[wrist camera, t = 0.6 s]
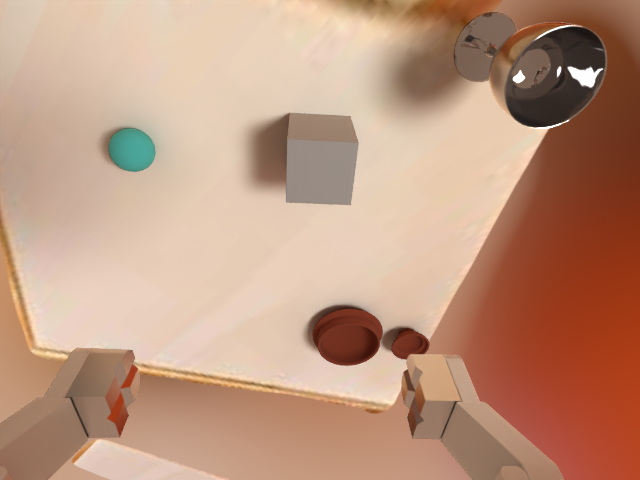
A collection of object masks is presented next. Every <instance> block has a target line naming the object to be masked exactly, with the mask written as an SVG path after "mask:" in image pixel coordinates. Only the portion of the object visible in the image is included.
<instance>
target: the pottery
mask: <svg viewBox="0 0 640 480" xmlns="http://www.w3.org/2000/svg"><path fill="white" fill-rule="evenodd" d="M382 334H383V330H382V326H381V323H380V322H379V320H378V319H377V318H376V317H375V316H373V315H372V314H370V313H368V312H365V311H362V310H358V309H343V310H338V311H334V312H332V313H329V314H328V315H326V316H324V317H323V318H322V319H320V320H319V321H318V323H317V324H316V326H315V327H314V330H313V340H314V343H315V345H316V346H317V347H318V350H319V352H320V354H321V356H322V357H323V358H324V359H326V360H327V361H329V362H331V363H334V364H337V365H344V366H349V365H356V364H360V363H363V362H365V361H367V360H369V359H370V358H372V357H373V356H374V355H375V354H376V353H377V351H378V349H379V346H380V340H381V338H382ZM428 348H429V341H428V339H427V338H426V337H425V336H424V335H422V334H420V333H418V332H415V331H414V330H413V329H404V330H402V331H400V333H399V335H398V336H397V338H396V339H395V340H394V342H393V344H392V352H393V354H394V355H395V356H396V357H398V358H401V359H407V358H408V356H409V355H410V354H425V353H426V352H427V350H428Z"/></svg>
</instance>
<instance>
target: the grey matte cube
mask: <svg viewBox="0 0 640 480" xmlns="http://www.w3.org/2000/svg"><path fill="white" fill-rule="evenodd" d="M357 151H358V140H357V136H356V133H355V130H354V127H353V123H352V120H351V117H350V116H336V115H318V114H300V113H290V116H289V126H288V137H287V175H286V202H289V203H313V204H337V205H351V199H352V191H353V183H354V175H355V167H356V159H357Z"/></svg>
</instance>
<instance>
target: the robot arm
mask: <svg viewBox="0 0 640 480" xmlns="http://www.w3.org/2000/svg"><path fill="white" fill-rule="evenodd" d="M134 359H135V356H134V353H133V350H121V349H98V348H76V349H75V350H73V351H72V352H71V353H70V355H69V356H68V358H67V360H66V361H65V363H64V365H63V366H62V368H61V369H60V371H59V373H58V374H57V376H56V378H55V379H54V381H53V382H52V384H51V386H50V388H49V389H48V391H47V392H46V394H45V395H44V397H42V398H41V397H39V398H36V399H35V400H33V401H32V402H31V403H29V404H28V405H26V406H25V407H23V408H22V409H20V410H19V411H17V412H16V413H15V414H13V415H12V416H10V417H9V418H7V419H6V420H4V421H3V422H2V423H0V480H48V479H49V478H50V477H51V476H52V475H53V474H54V473H55V472H56V471H57V470H58V469H59V468H60V467H61V466H62V465H63V464H64V463H65V462H66V461H67V460H68V459H69V458H71V457H72V456H73V455H74V453H76V452H77V451H78V449H80V448H81V447H82V446H83V445H84V444H85V443H86V442H87V441H88V438H107V437H108V438H110V437H111V438H112V437H120V436H121V433H122V431H123V428H124V426H125V423H126V421H127V418H128V416H129V415H128V411H127V407H128V406H129V405H130V404H131V403H133V402H134V400H135V398H136V395H137V393H138V388H139V382H140V380H139V379H140V378H139V371H138V368H137V367H136V366H134V365H133V362H134ZM406 364H407V368H408V369H407V370H406V371H404V372H403V377H402V396H403V401H404V404H405V405H406V406H407V407H408V408H409V409H410V410H409V413H408V417H407V418H408V422H409V427H410V431H411V435H412V438H413V439H441V442H442V443H443V444H444V446H445V447H446V448H447V449H448V451H449V452H450V453H451V454H452V456H453V457H454V458H455V459H456V460H457V462H458V463H459V464H460V465H461V467H462V468H463V469H464V470H465V471H466V473H467V474H468V475H469V477H470V478H471V479H472V480H564V478H563V476H562V475H561V473H560V471H559V468H558V467H557V465H556V464H555V463H554V462H553V461H551V460H550V459H549V458H548V457H547V456H546V455H545V454H544V453H542V452H541V451H540V450H539V449H538V448H537V447H536V446H534V445H533V444H532V443H531V442H530V441H529V440H528V439H526V438H525V437H524V436H523V435H522V434H521V433H519V432H518V431H517V430H516V429H515V428H514V427H513V426H511V425H510V424H509V423H508V422H507V421H506V420H505V419H504V418H502V417H501V416H500V415H499V414H498V413H497V412H496V411H494V410H493V409H492V408H491V407H490V406H489V405H488V404H486V403H485V402H480V401H479V398H478V396H477V394H476V391H475V389H474V386H473V384H472V382H471V379H470V377H469V374H468V372H467V370H466V367H465V365H464V363H463V360H462V358H461V357H460V356H459V355H441V354H439V355H438V354H437V355H436V354H434V355H433V354H430V355H429V354H410V355H409V356H408V358H407V362H406Z"/></svg>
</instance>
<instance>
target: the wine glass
mask: <svg viewBox="0 0 640 480" xmlns="http://www.w3.org/2000/svg"><path fill="white" fill-rule="evenodd" d="M454 60H455V65H456V67H457V70H458V71H459V73H460V74H461V75H462V76H463V77H464V78H466V79H468V80H470V81H474V82H484V81H489V84H490V88H491V91H492V94H493V96H494V98H495V99H496V101H497V103H498V104H499V105H500V107H501V108H502V109H503V110H504V111H505V112H506V113H507V114H508V115H509V116H510V117H512V118H513V119H515V120H516V121H518V122H519V123H521V124H522V125H525V126H527V127H530V128H536V129H542V128H550V127H554V126H557V125H560V124H563V123H564V122H567V121H568V120H570V119H572V118H573V117H575V116H576V115H577V114H579V113H580V112H581V111H582V110H583V109H585V108H586V106H587V105H588V104H589V103H590V102H591V101H592V100H593V98H594V97H595V95H596V94H597V92H598V91H599V89H600V87H601V85H602V83H603V80H604V77H605V73H606V69H607V53H606V49H605V46H604V43H603V41H602V40H601V39H600V37H599V36H598V35H597V34H595V33H594V32H593V31H591V30H589V29H587V28H585V27H582V26H578V25H574V24H569V23H561V22H549V23H540V24H535V25H531V26H528V27H525V28H523V29H521V30H519V31H518V29H517V26H516V25H515V23H514V21H513V20H512V19H511V18H510V17H508V16H507V15H505V14H503V13H499V12H489V13H485V14H482V15H480V16H478V17H476V18H475V19H473V20H472V21H471V22H469V23H468V24H467V25H466V27H465V28H464V29H463V30H462V32H461V33H460V35H459V37H458V39H457V42H456V45H455V50H454Z"/></svg>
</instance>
